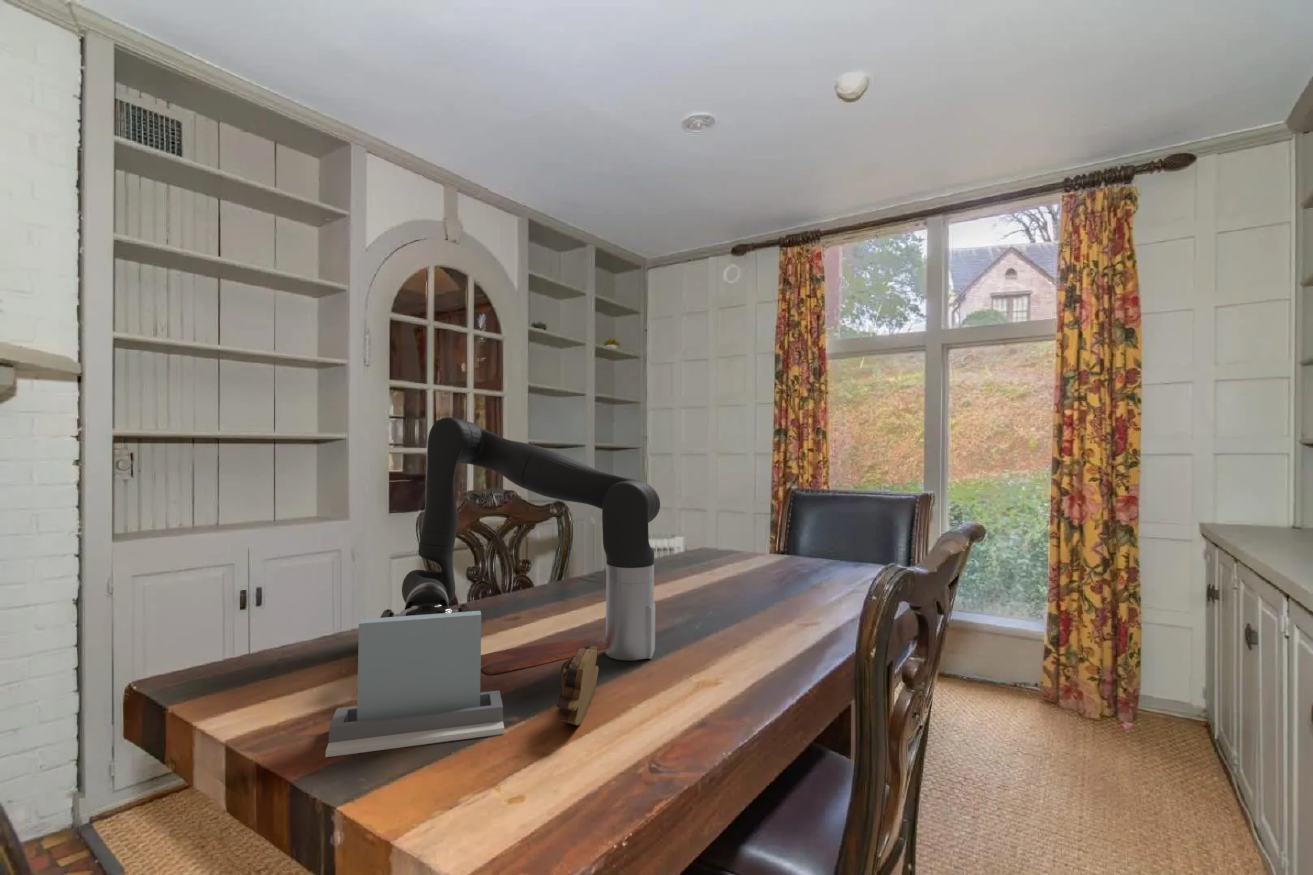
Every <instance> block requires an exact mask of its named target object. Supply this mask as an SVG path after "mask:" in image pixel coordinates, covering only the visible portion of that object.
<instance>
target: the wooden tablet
mask: <svg viewBox="0 0 1313 875" xmlns="http://www.w3.org/2000/svg"><path fill="white" fill-rule="evenodd" d="M589 638H590V637H585V638H582V637H581V638H571V639H566V640H559V641H552V642H544V643H537V644H531V645H524V646H518V647H515V648H514V647H512V648H508V649H503V650H497V651H492V652H488V653H484V654H481V672H482V673H484V674H486V675H487V676H488V675H489V676H492V675H497V674H503V673H508V672H513V671H517V670H523V668H524V669H528V668H532V667H536V666H540V665H544V664H549V663H553V661H554V662H557V660H558V661H562V660H565V659H568V658H569V657H570V656H574V655H575V654H576V653H577V651H578V650H579V649H581V648H584V647H585V646H594V647H597V652H598V651H601V650H603V649H604V650H606V645H605V644H606V642H605V641H601V640H598V639H595V638H590V639H589ZM594 639H595V640H594ZM604 642H605V643H604ZM561 659H562V660H561Z"/></svg>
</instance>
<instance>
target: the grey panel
mask: <svg viewBox="0 0 1313 875" xmlns="http://www.w3.org/2000/svg"><path fill="white" fill-rule="evenodd" d="M357 642H358V646H357V647H358V649H357V650H358V651H357V653H358V656H357V694H356V695H357V697H356V698H357V699H356V701H357V703H356V706H357V721H361V720H370V719H379V718H387V717H396V716H404V715H413V714H421V713H430V712H438V711H447V710H456V709H464V708H473V707H480V692H481V672H482V670H481V655H482V653H481V652H482V611H481V610H472V611H470V610H469V612H455V613H441V614H427V615H413V616H399V617H384V618H380V617H373V618H360V620H359V622H358V641H357Z"/></svg>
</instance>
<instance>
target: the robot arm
mask: <svg viewBox="0 0 1313 875" xmlns="http://www.w3.org/2000/svg"><path fill="white" fill-rule="evenodd" d="M426 448H427V450H426V452H427V455H426V459H427V460H426V496H425V500H426V501H425V509H424V516H423V522H422V528H421V532H420V538H419V544H418V549H417V550H418V556H420V558H423V559H425V560H428V561H431V562H434V563H436V564H438V566H439V567H440V571H436V570H435V571H434V570H426V569H413V570H412V571H409V572H408V573H407V574H406V575H405V577H404V578H403V581H402V584H401V595H402V598H403V601H404V603H405V606H404V609H403V610H401V611H400V612H399V613H394V612H395V611H392V609H389V608H388V609H385V610H383V611H382V613H381V615H380V617H379V618H384V617H399V616H413V615H427V614H441V613H455V612H469V611H470V609H469V607H468V605H467V604H461V605H459V606H458V607H457V609H452V608H451V607H450V606H449V604H450V603H451V602H452V601H453V599H454V598H455V594H456V583H455V582H456V581H455V572H454V549H455V543H456V538H457V532H458V525H459V515H458V514H459V513H458V507H457V502H456V497H455V490H454V489H455V487H454V481H455V478H454V477H455V472H456V468H457V464H467V465H471V466H477V467H481V468H484V469H488V470H491V471H494V472H496V473H498V474H500V475H501V476H503V477H504V478H505V479H506V480H509V482H511V483H512V484H515V485H516V486H518V487H520V488H522V489H524V490H527V491H530V492H533V493H535V494H538V495H539V496H540V495H541V496H543V497H546V498H550V499H555V500H561V501H566V502H572V503H580V504H585V505H589V506H592V507H595V508H598V509H601V510H602V511H601V512H602V514H601V516H602V518H601V521H602V522H601V523H602V524H601V526H602V527H601V528H602V545H603V546H602V548H603V550H604V552H605V556H606V570H605V572H606V575H605V576H606V580H605V581H606V582H605V583H606V584H605V585H606V586H605V589H606V592H605V597H606V598H605V643H606V644H605V645H606V648H605V655H606V656H607V657H608V658H611V659H614V660H618V661H638V660H639V661H640V660H645V659H649V660H651V659H652V658H653V656H654V653H655V650H656V600H655V550H654V549H653V548H652V547H651V544H650V539H649V523H651V522H652V521H653V520H654V519H655V518H656V517H657V515H658V514H659V512H660V509H661V501H660V500H661V499H660V496H659V494H658V492H657V491H656V490H655V489H654V488H653V487H652V486H651V485H650V484H649V483H647V482H646V481H643V480H639V479H635V478H629V477H626V476H625V477H623V476H621V475H620V476H619V475H616V474H612V473H609V472H605V471H602V470H599V469H596V468H594V467H592V466H590V465H587V464H585V463H583V462H582V461H579V460H576V459H573V458H571V457H569V456H566V455H564V454H561V453H558V452H556V451H554V450H550V449H547V448H545V447H541V446H540V445H539V446H538V445H534V444H530V443H527V442H522V441H515V440H510V439H507V438H505V437H504V438H503V437H502V436H499V435H497V434H495V433H493V432H491V431H489V430H487V429H485V428H483V427H481V426H479V425H478V424H475V423H473V422H471V421H467V420H463V419H459V418H455V417H453V416H452V417H450V416H446V417H445V416H444V417H442V418H439V419H438V420H436V422H434V423H433V425H432V426H431V428H430V430H429V433H428V438H427V447H426Z"/></svg>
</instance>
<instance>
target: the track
mask: <svg viewBox="0 0 1313 875" xmlns="http://www.w3.org/2000/svg"><path fill="white" fill-rule="evenodd" d="M504 734H505V725H504V705H503V700H502V696H501V692H500V690H499V689H498V690H492V691H482V692H481V691H480V707H473V708H464V709H456V710H447V711H438V712H430V713H421V714H413V715H404V716H396V717H387V718H379V719H370V720H361V721H357V705H353V706H345V707H344V706H343V707H337V708H336V710H335V713H334V715H333V718H332V720H331V722H330V723H329V726H328V743H327V746H326V749H325V758H330V757H338V756H344V755H345V756H347V755H354V754H359V753H360V754H361V753H368V752H369V753H370V752H376V751H383V750H391V749H399V748H406V747H413V746H422V745H429V744H436V743H437V744H438V743H443V742H452V741H459V740H467V739H475V738H483V737H490V736H491V737H492V736H498V735H504Z"/></svg>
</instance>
